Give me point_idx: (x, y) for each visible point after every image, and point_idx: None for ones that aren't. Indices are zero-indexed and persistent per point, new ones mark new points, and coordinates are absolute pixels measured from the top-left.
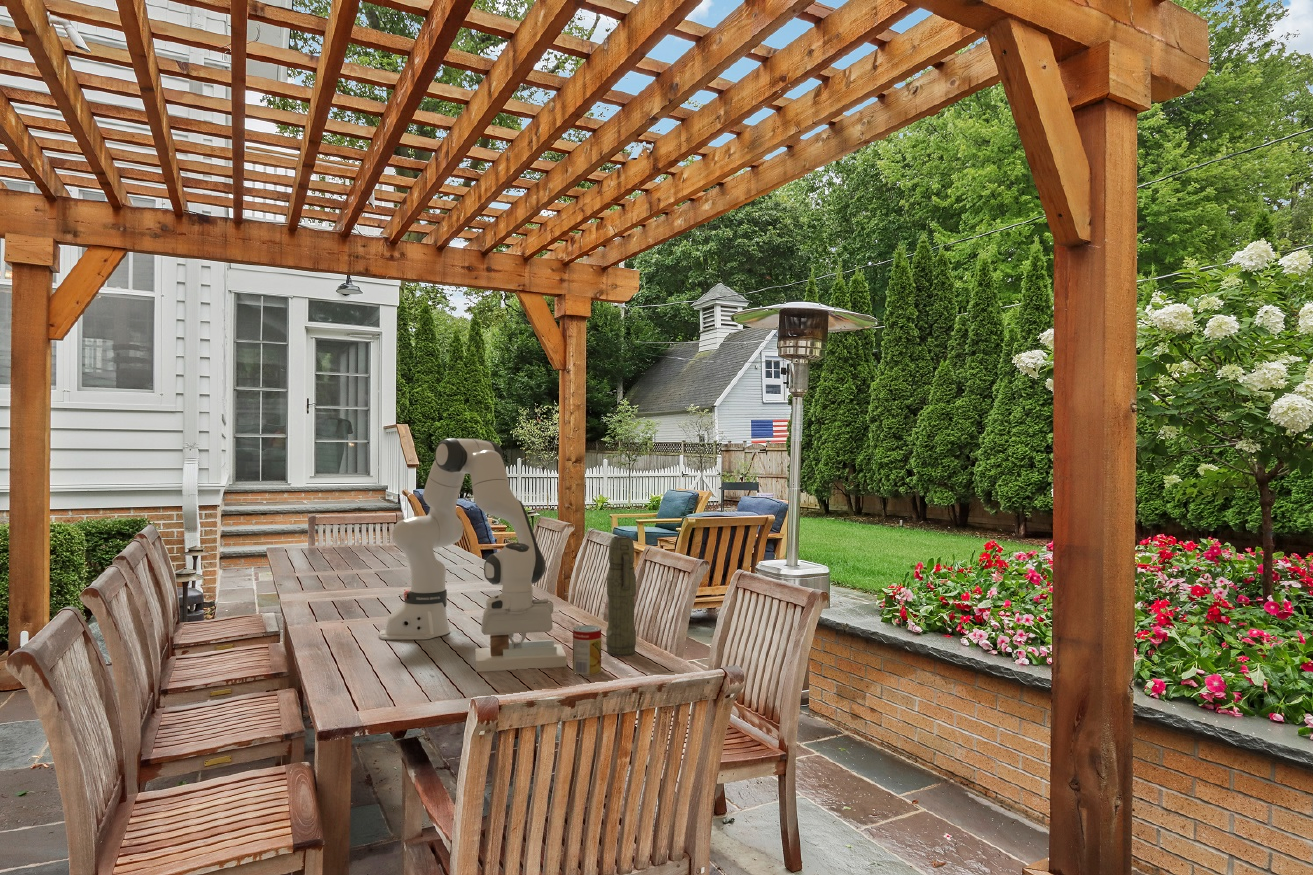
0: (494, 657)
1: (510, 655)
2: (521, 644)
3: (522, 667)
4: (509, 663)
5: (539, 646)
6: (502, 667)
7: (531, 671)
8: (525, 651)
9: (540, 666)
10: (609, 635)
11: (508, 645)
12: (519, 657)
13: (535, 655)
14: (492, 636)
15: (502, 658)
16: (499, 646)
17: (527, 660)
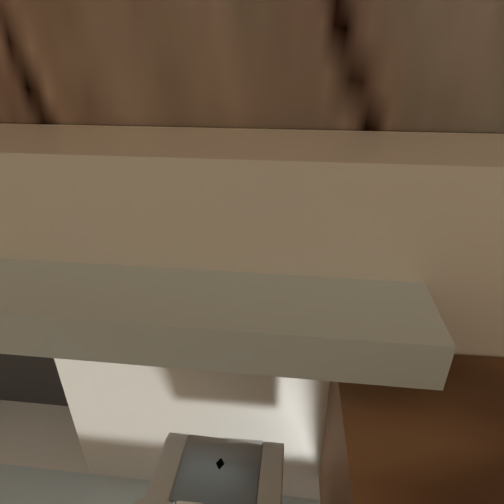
0: None
1: (326, 287)
2: (161, 472)
3: (200, 129)
4: (352, 145)
5: (28, 482)
6: (432, 139)
7: (102, 6)
8: (115, 297)
9: (13, 128)
10: None
11: (352, 450)
12: (212, 218)
13: (22, 257)
14: None
15: (451, 222)
16: (500, 456)
17: (116, 149)
